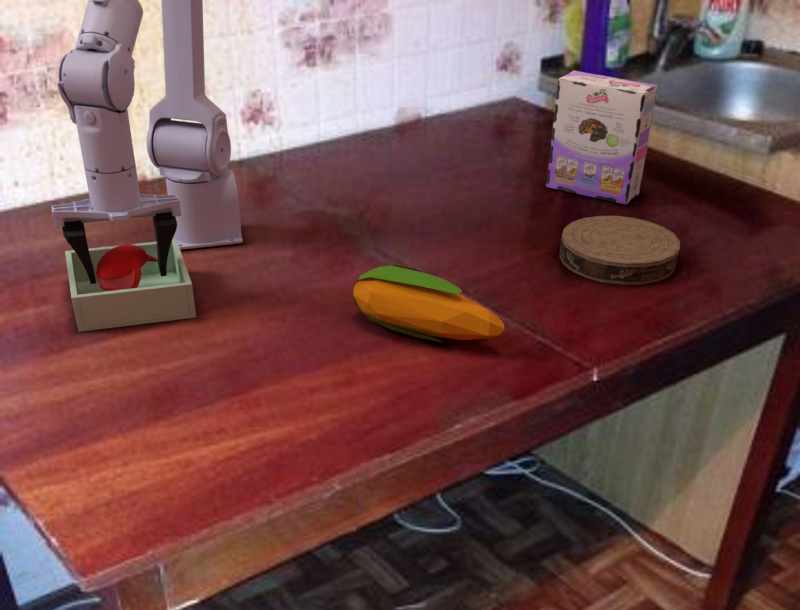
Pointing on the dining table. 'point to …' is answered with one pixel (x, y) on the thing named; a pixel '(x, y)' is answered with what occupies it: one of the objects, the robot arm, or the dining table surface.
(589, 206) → the dining table surface
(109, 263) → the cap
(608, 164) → the candy box
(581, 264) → the tin can
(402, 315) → the corn
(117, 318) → the bin
